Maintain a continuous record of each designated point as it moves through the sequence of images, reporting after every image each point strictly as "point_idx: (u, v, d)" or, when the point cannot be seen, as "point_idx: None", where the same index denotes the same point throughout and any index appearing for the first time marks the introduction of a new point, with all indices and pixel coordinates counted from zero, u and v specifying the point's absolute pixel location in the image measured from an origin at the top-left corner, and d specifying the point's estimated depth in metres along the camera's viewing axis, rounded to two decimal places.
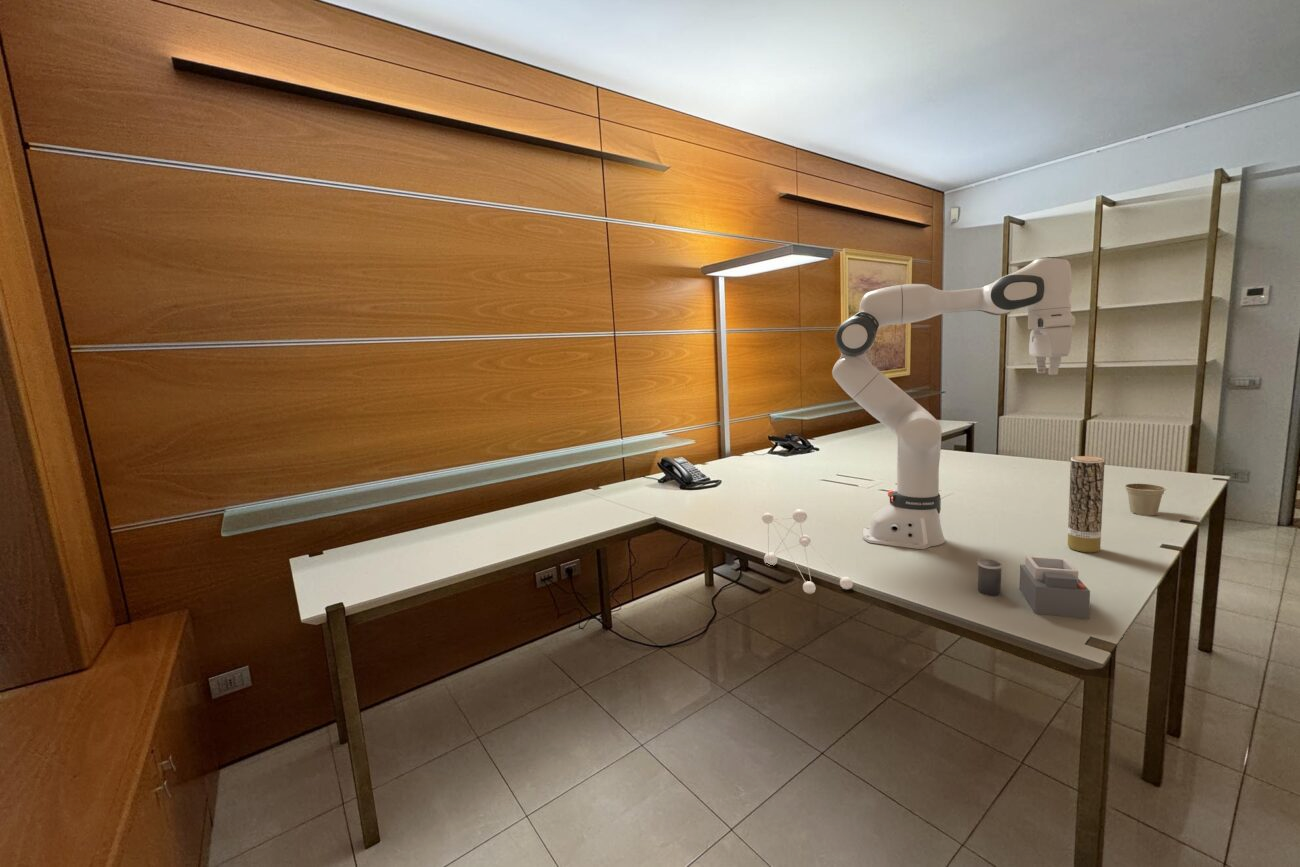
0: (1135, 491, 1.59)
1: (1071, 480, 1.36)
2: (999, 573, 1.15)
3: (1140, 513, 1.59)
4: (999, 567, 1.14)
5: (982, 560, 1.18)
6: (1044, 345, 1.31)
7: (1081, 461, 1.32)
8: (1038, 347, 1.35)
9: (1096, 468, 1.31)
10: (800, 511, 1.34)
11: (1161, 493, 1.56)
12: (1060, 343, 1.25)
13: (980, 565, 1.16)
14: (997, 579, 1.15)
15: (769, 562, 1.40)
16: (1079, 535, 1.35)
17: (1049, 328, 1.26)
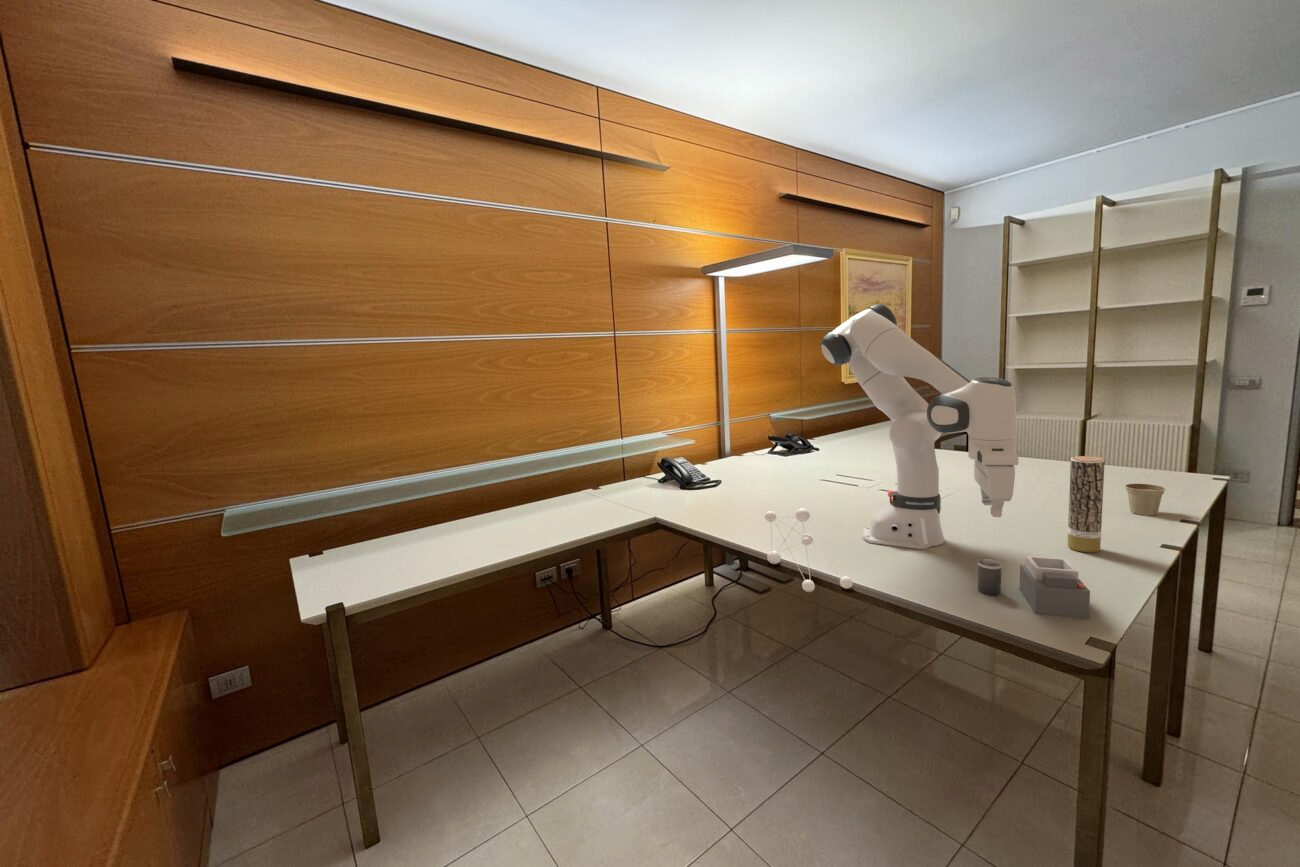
0: (1135, 491, 1.59)
1: (1071, 480, 1.36)
2: (999, 573, 1.15)
3: (1140, 513, 1.59)
4: (999, 567, 1.14)
5: (982, 560, 1.18)
6: (985, 481, 1.11)
7: (1081, 461, 1.32)
8: (981, 478, 1.16)
9: (1096, 468, 1.31)
10: (803, 510, 1.35)
11: (1161, 493, 1.56)
12: (1001, 486, 1.05)
13: (980, 565, 1.16)
14: (997, 579, 1.15)
15: (772, 560, 1.41)
16: (1079, 535, 1.35)
17: (989, 466, 1.07)
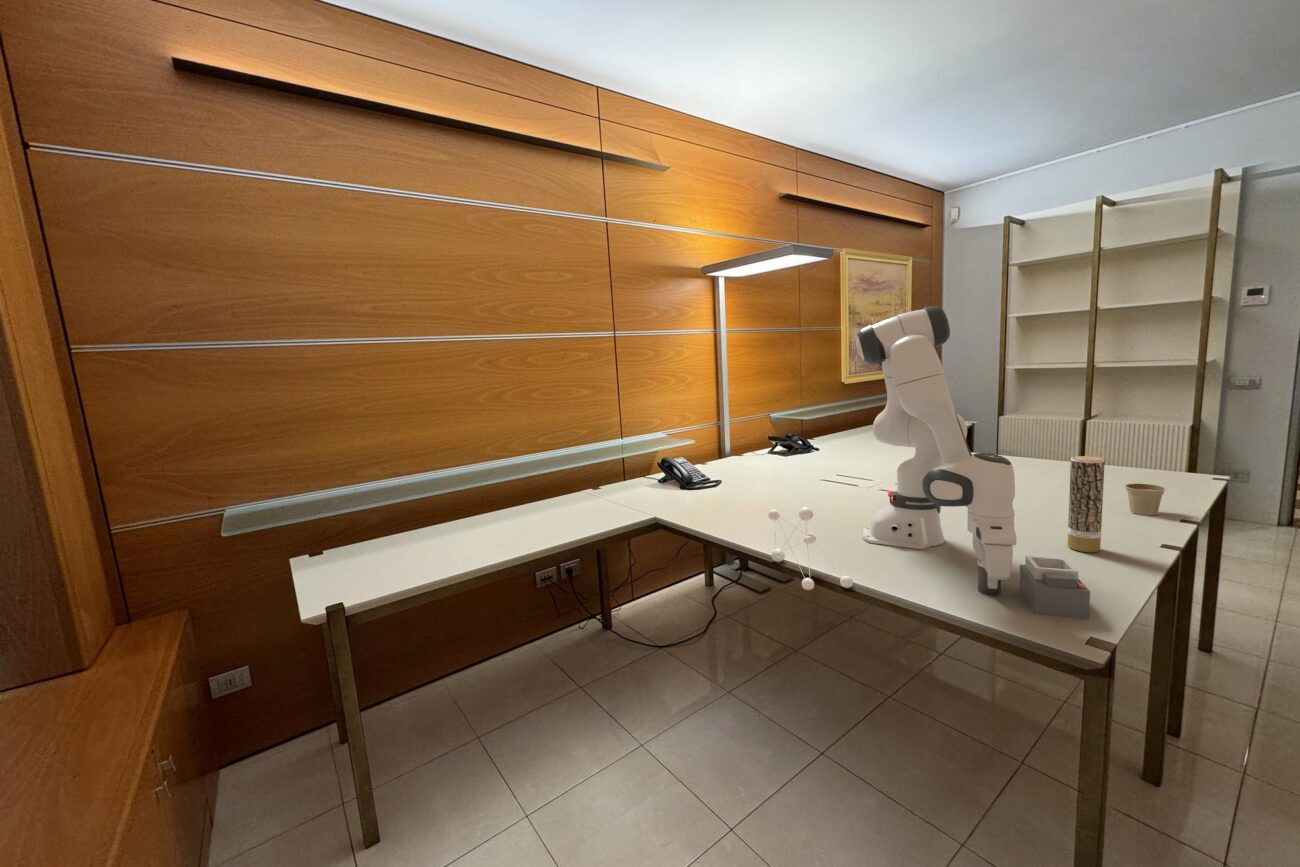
0: (1135, 491, 1.59)
1: (1071, 480, 1.36)
2: None
3: (1140, 513, 1.59)
4: None
5: None
6: (984, 556, 1.13)
7: (1081, 461, 1.32)
8: (979, 550, 1.18)
9: (1096, 468, 1.31)
10: (806, 509, 1.36)
11: (1161, 493, 1.56)
12: (999, 566, 1.07)
13: (980, 565, 1.16)
14: None
15: (776, 558, 1.42)
16: (1079, 535, 1.35)
17: (987, 545, 1.09)
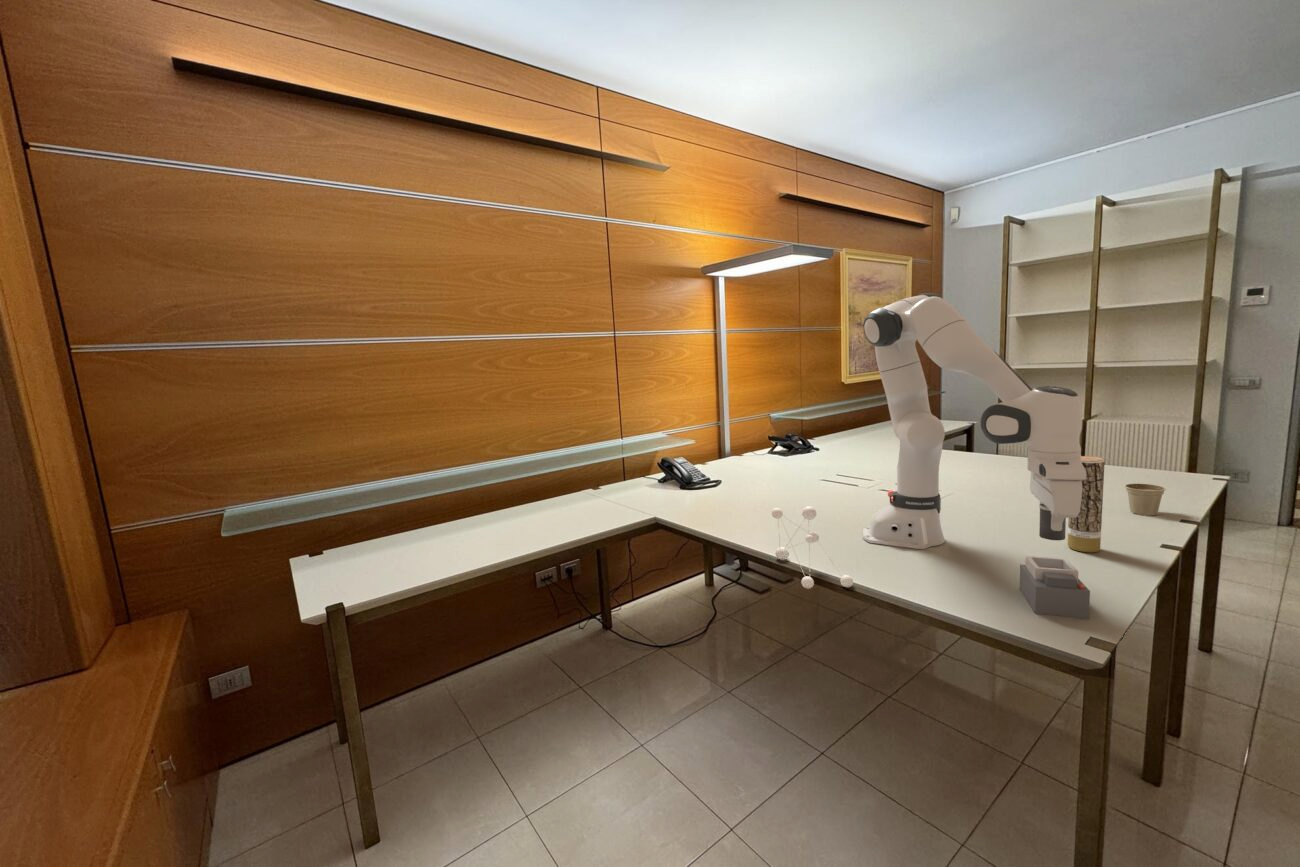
0: (1135, 491, 1.59)
1: None
2: None
3: (1140, 513, 1.59)
4: None
5: None
6: (1047, 495, 1.06)
7: (1081, 461, 1.32)
8: (1040, 492, 1.10)
9: (1096, 468, 1.31)
10: (809, 508, 1.37)
11: (1161, 493, 1.56)
12: (1067, 502, 1.00)
13: (1043, 508, 1.09)
14: None
15: (779, 556, 1.43)
16: (1079, 535, 1.35)
17: (1053, 481, 1.01)
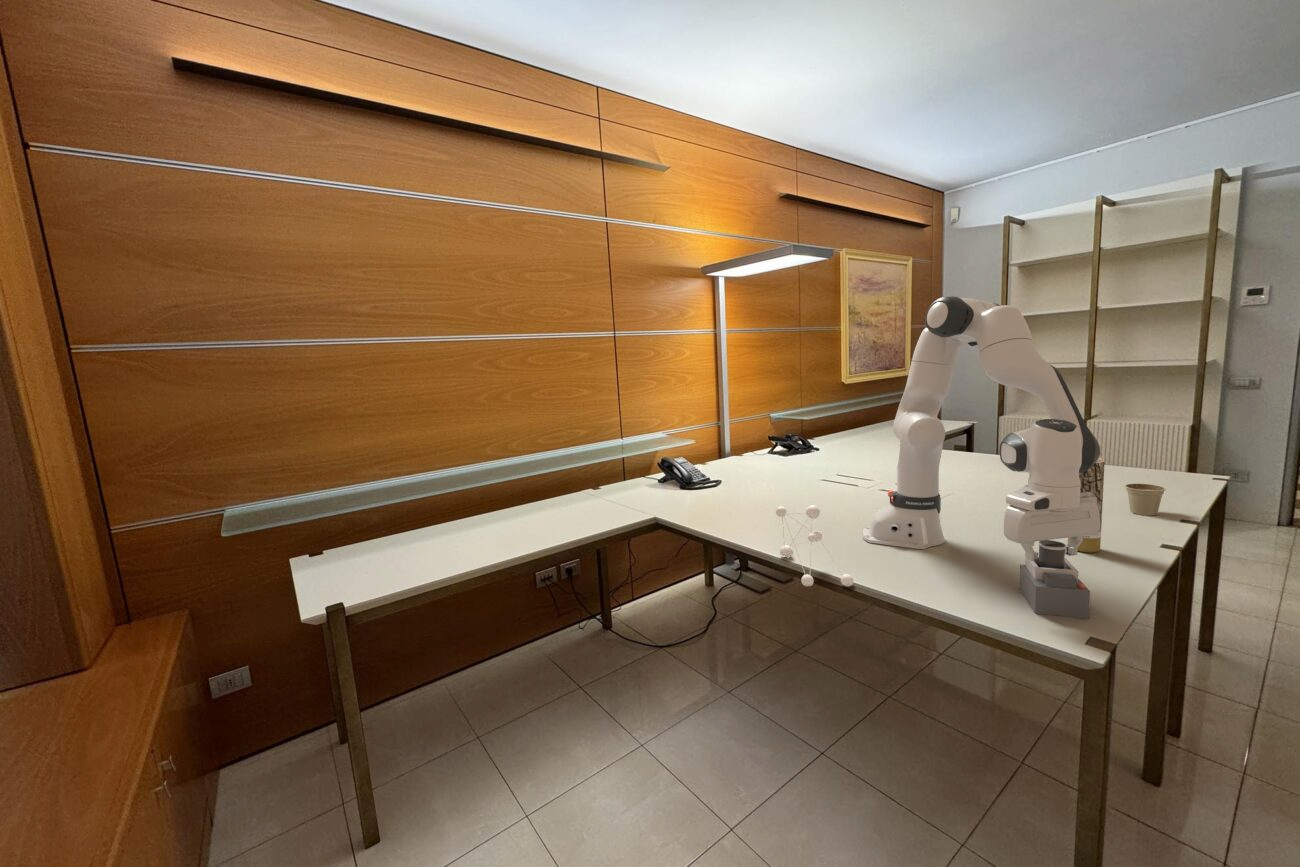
0: (1135, 491, 1.59)
1: None
2: (1052, 555, 1.08)
3: (1140, 513, 1.59)
4: (1051, 548, 1.08)
5: (1051, 541, 1.11)
6: None
7: None
8: None
9: (1096, 468, 1.31)
10: (812, 507, 1.37)
11: (1161, 493, 1.56)
12: (1010, 526, 1.08)
13: None
14: (1049, 560, 1.09)
15: (783, 554, 1.44)
16: None
17: (1010, 506, 1.10)
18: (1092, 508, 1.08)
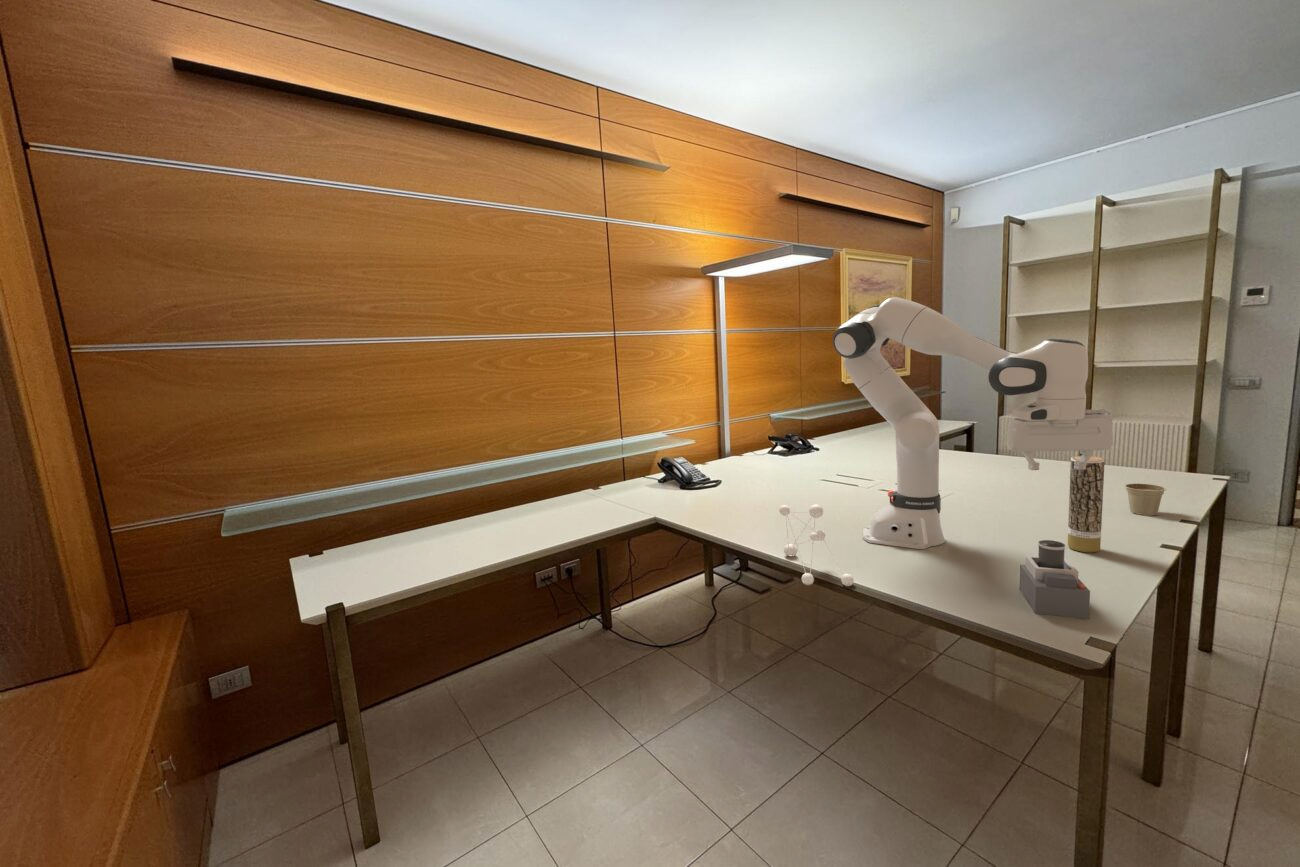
0: (1135, 491, 1.59)
1: (1071, 480, 1.36)
2: (1052, 555, 1.08)
3: (1140, 513, 1.59)
4: (1051, 548, 1.08)
5: (1051, 541, 1.11)
6: None
7: None
8: None
9: (1096, 468, 1.31)
10: (816, 506, 1.38)
11: (1161, 493, 1.56)
12: (1010, 437, 1.18)
13: None
14: (1048, 560, 1.09)
15: (787, 553, 1.45)
16: (1079, 535, 1.35)
17: (1014, 419, 1.19)
18: (1102, 423, 1.13)
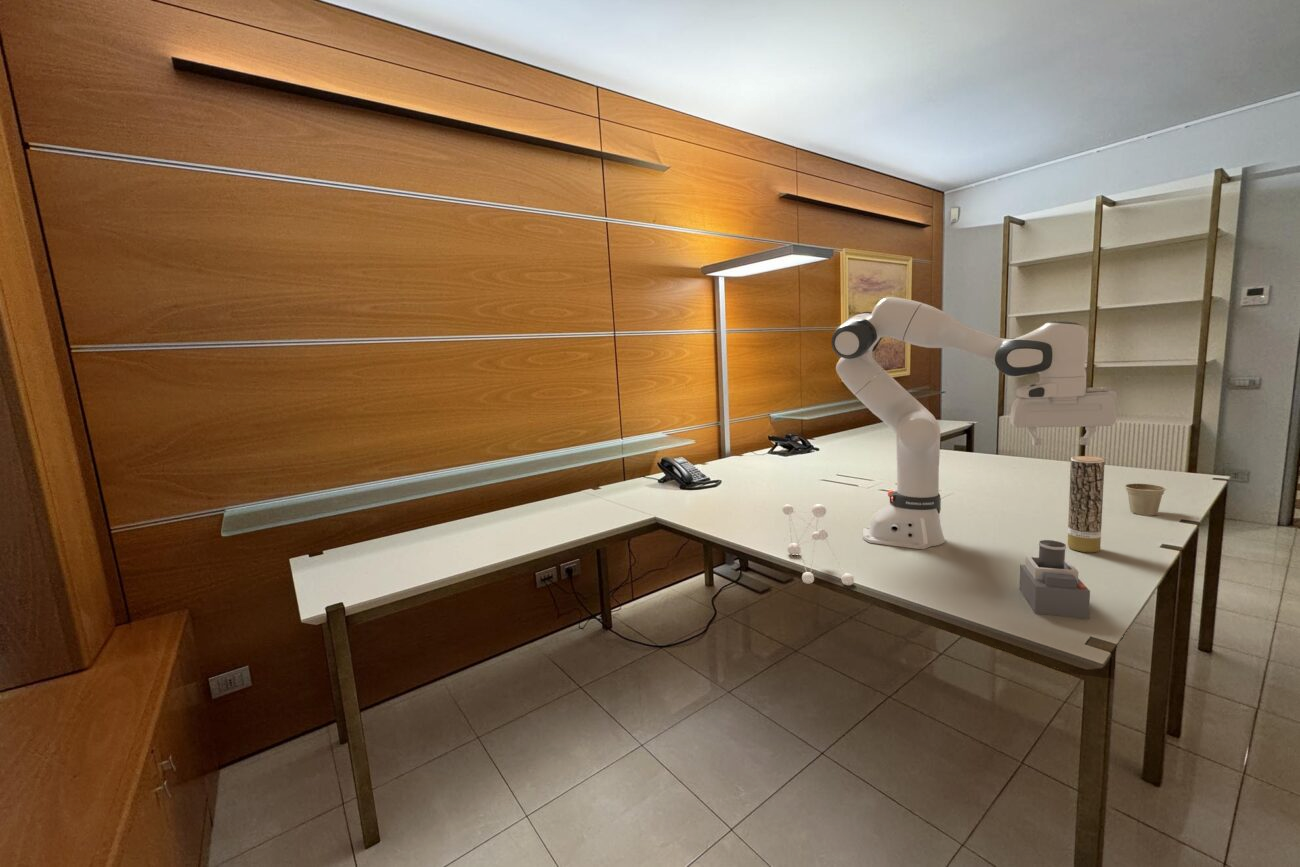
0: (1135, 491, 1.59)
1: (1071, 480, 1.36)
2: (1053, 554, 1.08)
3: (1140, 513, 1.59)
4: (1052, 548, 1.08)
5: (1051, 541, 1.11)
6: None
7: (1081, 461, 1.32)
8: None
9: (1096, 468, 1.31)
10: (818, 505, 1.38)
11: (1161, 493, 1.56)
12: (1012, 414, 1.27)
13: None
14: (1049, 560, 1.09)
15: (790, 552, 1.46)
16: (1079, 535, 1.35)
17: None
18: (1104, 400, 1.18)
